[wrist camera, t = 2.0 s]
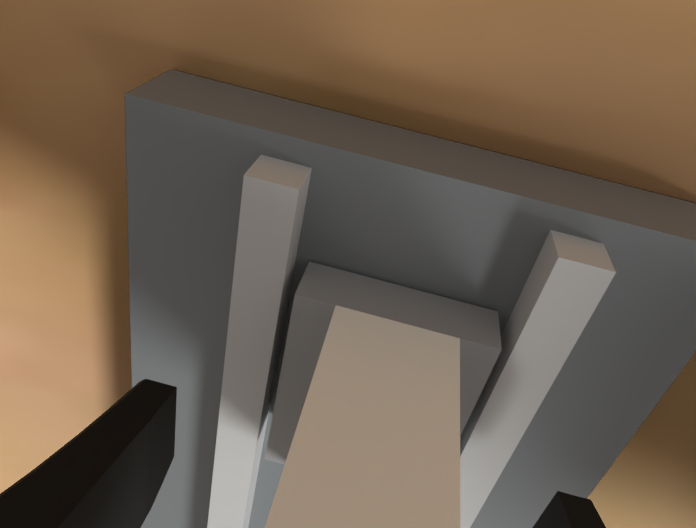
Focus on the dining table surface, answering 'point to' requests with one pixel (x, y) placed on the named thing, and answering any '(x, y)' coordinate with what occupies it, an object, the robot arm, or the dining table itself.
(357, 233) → the fader console
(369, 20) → the dining table surface
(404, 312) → the fader tab
